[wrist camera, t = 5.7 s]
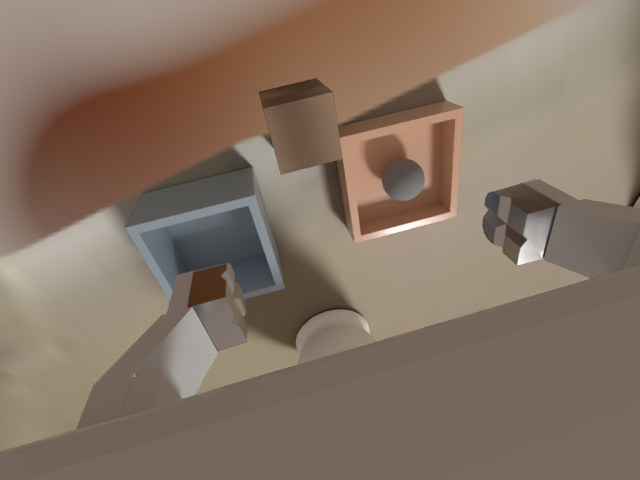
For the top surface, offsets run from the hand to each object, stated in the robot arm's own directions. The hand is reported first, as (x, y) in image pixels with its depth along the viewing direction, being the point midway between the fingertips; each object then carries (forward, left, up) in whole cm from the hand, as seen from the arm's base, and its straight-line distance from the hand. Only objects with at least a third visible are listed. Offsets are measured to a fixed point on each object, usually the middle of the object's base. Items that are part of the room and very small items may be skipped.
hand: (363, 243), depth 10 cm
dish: (-7, +6, -17) cm, 19 cm away
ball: (-7, +6, -16) cm, 18 cm away
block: (0, 0, -17) cm, 17 cm away
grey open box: (+8, +7, -17) cm, 20 cm away
